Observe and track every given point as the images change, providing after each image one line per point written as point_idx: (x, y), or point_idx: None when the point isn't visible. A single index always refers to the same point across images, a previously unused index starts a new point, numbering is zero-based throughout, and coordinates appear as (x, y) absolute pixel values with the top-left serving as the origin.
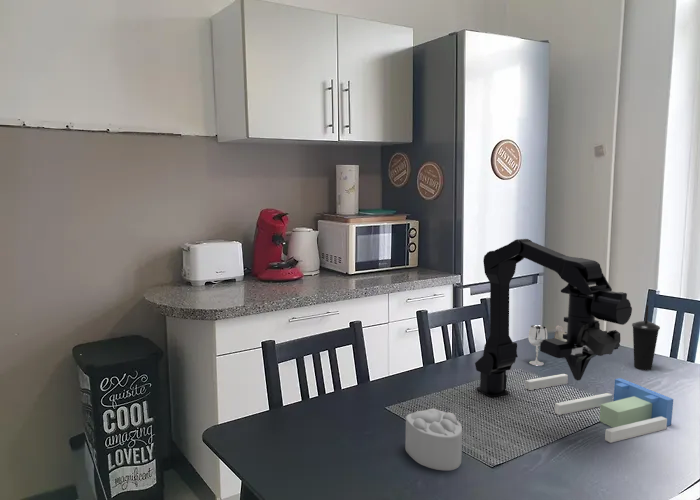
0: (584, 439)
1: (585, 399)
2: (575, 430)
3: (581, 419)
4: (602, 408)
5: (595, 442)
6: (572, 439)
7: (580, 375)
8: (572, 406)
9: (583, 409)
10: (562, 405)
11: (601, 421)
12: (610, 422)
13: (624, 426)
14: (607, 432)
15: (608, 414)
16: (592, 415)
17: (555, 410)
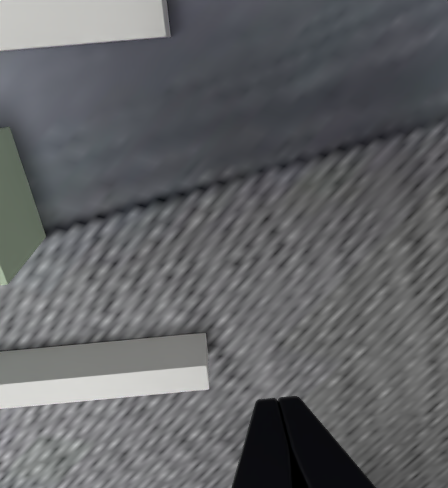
0: (277, 83)
1: (17, 390)
2: (245, 185)
3: (128, 273)
4: (11, 259)
5: (246, 30)
6: (338, 104)
7: (287, 443)
8: (120, 360)
9: (51, 349)
10: (187, 365)
11: (41, 226)
12: (15, 179)
13: (1, 31)
14: (165, 17)
15: (4, 208)
16: (43, 293)
17: (208, 361)
